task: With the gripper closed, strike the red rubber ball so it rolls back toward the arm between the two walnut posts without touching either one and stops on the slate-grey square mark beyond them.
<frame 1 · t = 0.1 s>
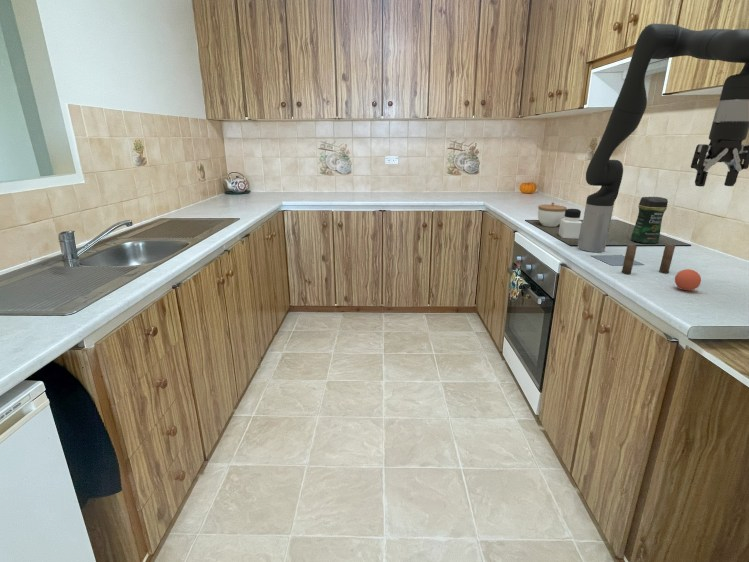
hand: (714, 186, 112), 29 cm above the table, tool pointing down, fingers open, 8 cm apart
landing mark: (616, 260, 150), on the table
coffee jar: (644, 242, 177), on the table
medicine bottle: (568, 237, 184), on the table
post 2: (663, 272, 137), on the table
post 1: (626, 273, 136), on the table
white lidded pot: (549, 225, 207), on the table
ball: (687, 279, 121), on the table
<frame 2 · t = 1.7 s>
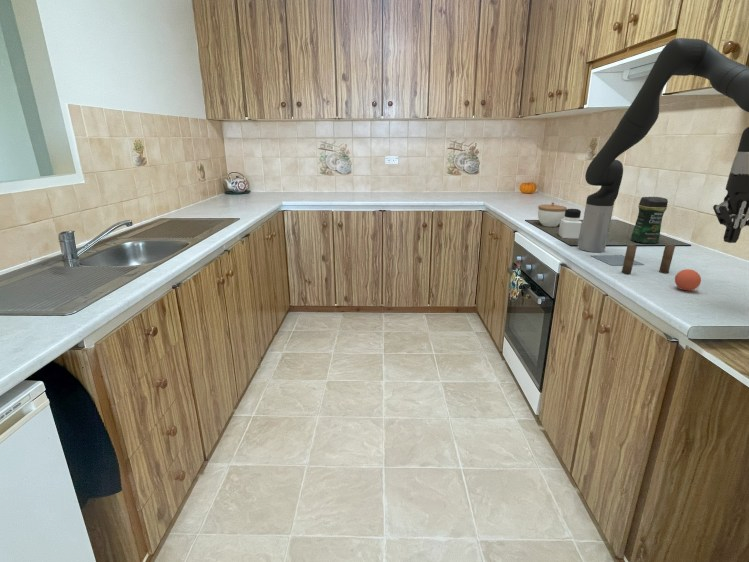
hand: (729, 242, 108), 16 cm above the table, tool pointing down, fingers closed
nothing on the table moved.
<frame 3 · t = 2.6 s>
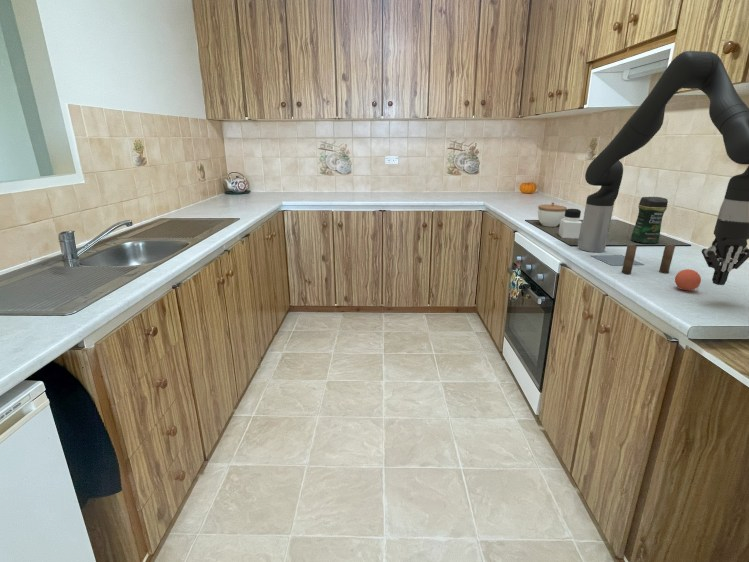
hand: (718, 284, 111), 5 cm above the table, tool pointing down, fingers closed
nothing on the table moved.
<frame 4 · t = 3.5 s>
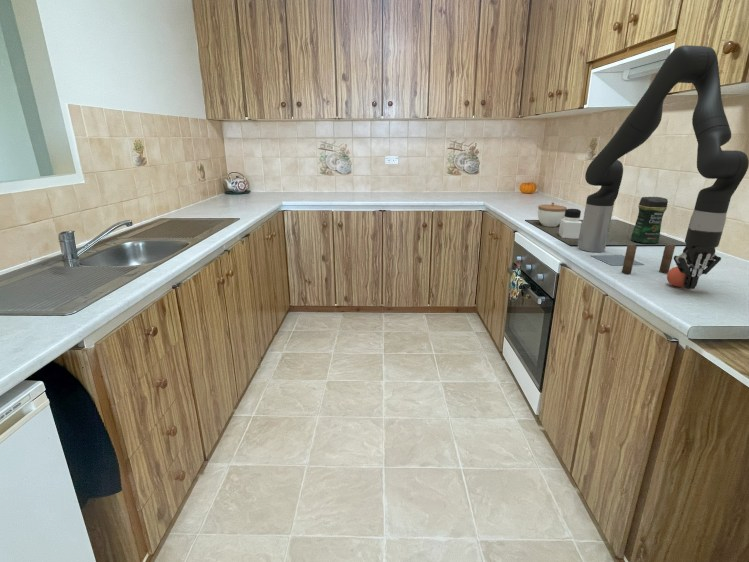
hand: (689, 288, 120), 1 cm above the table, tool pointing down, fingers closed
ball: (679, 276, 123), on the table
everything else where it was.
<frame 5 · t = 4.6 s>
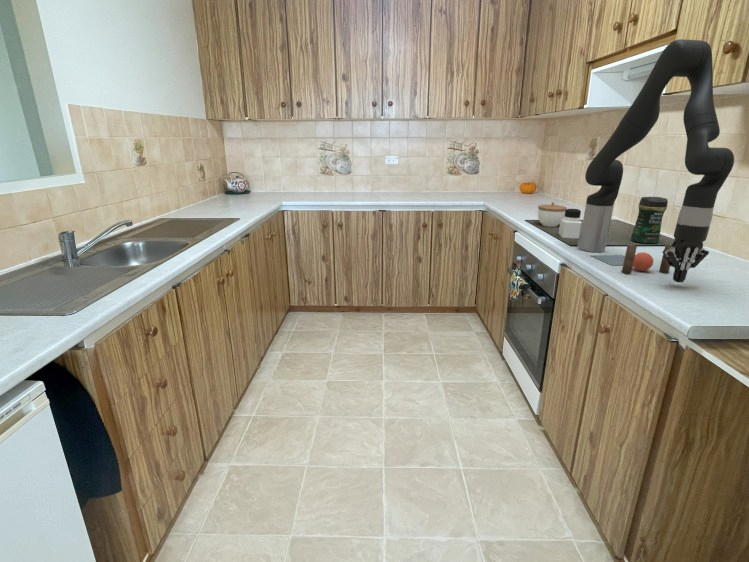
hand: (678, 281, 124), 2 cm above the table, tool pointing down, fingers closed
ball: (642, 261, 138), on the table
everything else where it was.
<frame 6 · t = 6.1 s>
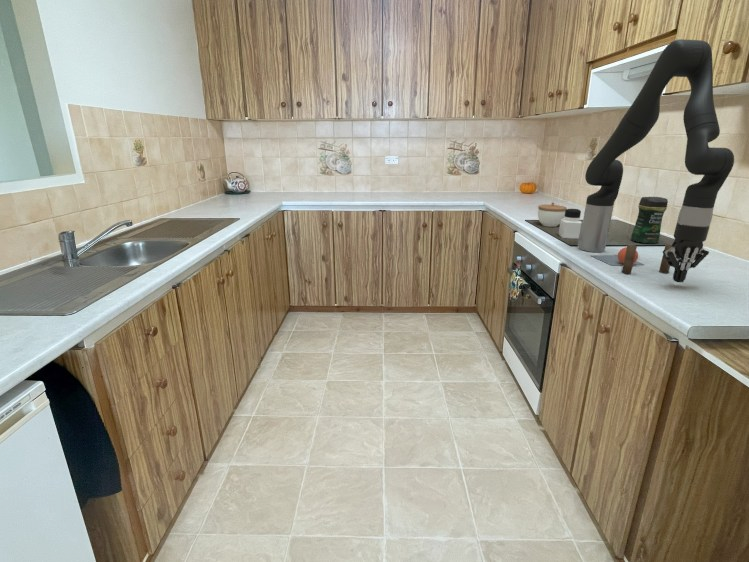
hand: (678, 281, 124), 2 cm above the table, tool pointing down, fingers closed
ball: (627, 255, 144), on the table
everything else where it was.
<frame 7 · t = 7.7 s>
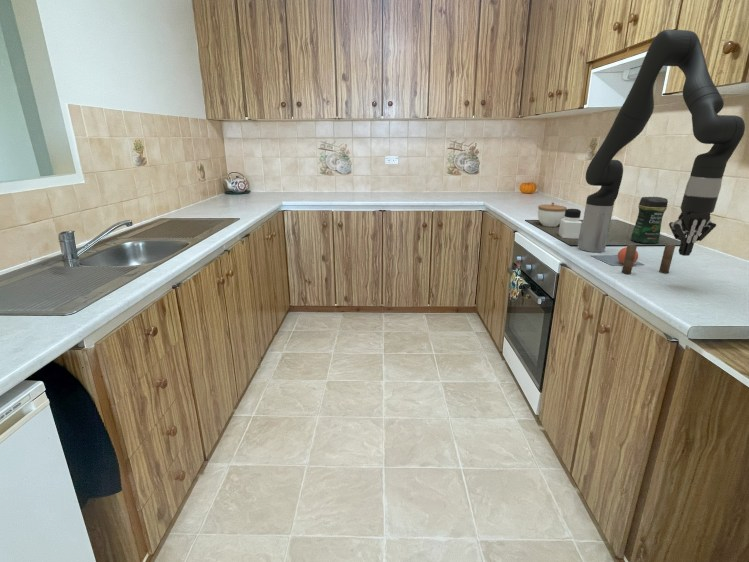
hand: (683, 254, 122), 9 cm above the table, tool pointing down, fingers closed
nothing on the table moved.
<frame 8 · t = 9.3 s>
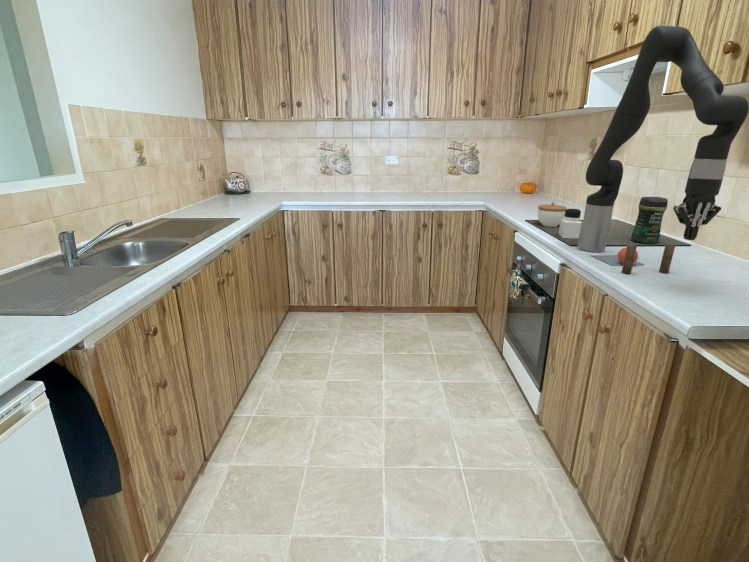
hand: (689, 239, 120), 14 cm above the table, tool pointing down, fingers closed
nothing on the table moved.
at the end: ball 4.9 cm from the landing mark (horizontally); ball never touched post 2; ball never touched post 1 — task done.
